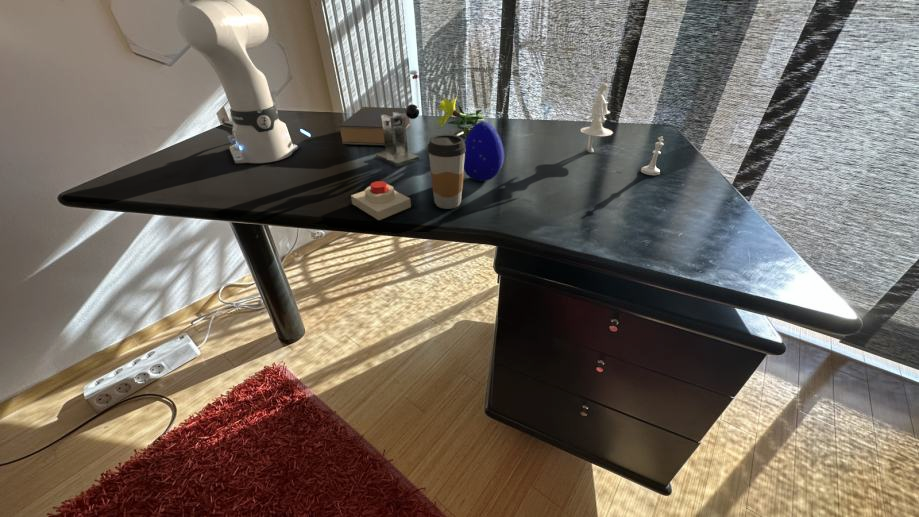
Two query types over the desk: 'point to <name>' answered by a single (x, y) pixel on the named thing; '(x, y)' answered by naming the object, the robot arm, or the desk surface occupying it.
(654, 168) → the chess piece
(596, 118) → the figurine
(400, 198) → the block
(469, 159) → the ornament
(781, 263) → the desk surface
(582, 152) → the desk surface
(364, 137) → the book
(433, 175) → the coffee cup
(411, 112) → the lever
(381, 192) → the button
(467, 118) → the daffodil flowers
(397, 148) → the metal bracket
